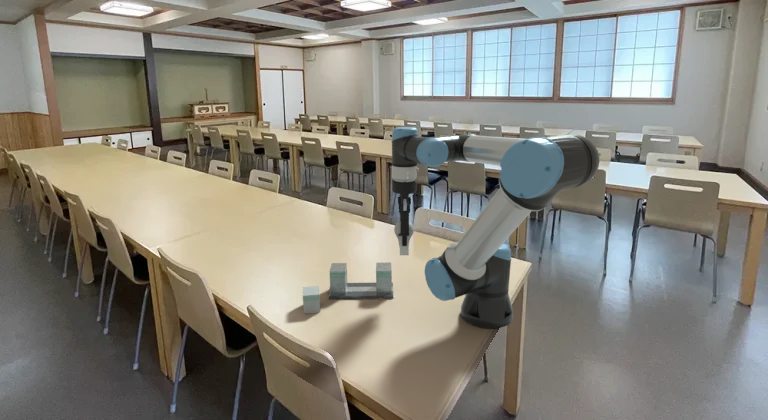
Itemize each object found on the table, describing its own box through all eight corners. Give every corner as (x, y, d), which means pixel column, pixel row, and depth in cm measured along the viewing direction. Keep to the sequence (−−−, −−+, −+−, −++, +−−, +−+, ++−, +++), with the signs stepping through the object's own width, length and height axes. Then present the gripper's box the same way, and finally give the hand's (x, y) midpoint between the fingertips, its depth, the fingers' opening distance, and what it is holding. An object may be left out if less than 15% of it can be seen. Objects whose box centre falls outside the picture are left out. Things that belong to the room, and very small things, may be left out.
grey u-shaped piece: (393, 298, 144) (393, 272, 142) (328, 299, 144) (327, 273, 142) (392, 285, 154) (392, 260, 151) (331, 285, 154) (330, 261, 151)
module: (320, 312, 136) (319, 294, 134) (303, 314, 135) (302, 296, 133) (319, 303, 142) (318, 285, 140) (303, 304, 141) (302, 287, 139)
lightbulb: (412, 249, 144) (413, 217, 141) (414, 257, 138) (414, 223, 135) (393, 250, 144) (393, 217, 141) (394, 257, 138) (394, 223, 135)
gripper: (418, 186, 125) (417, 262, 131) (415, 173, 143) (414, 240, 149) (392, 186, 125) (392, 262, 132) (391, 173, 143) (391, 240, 150)
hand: (403, 250), depth 140 cm, fingers closed on lightbulb, 6 cm apart
